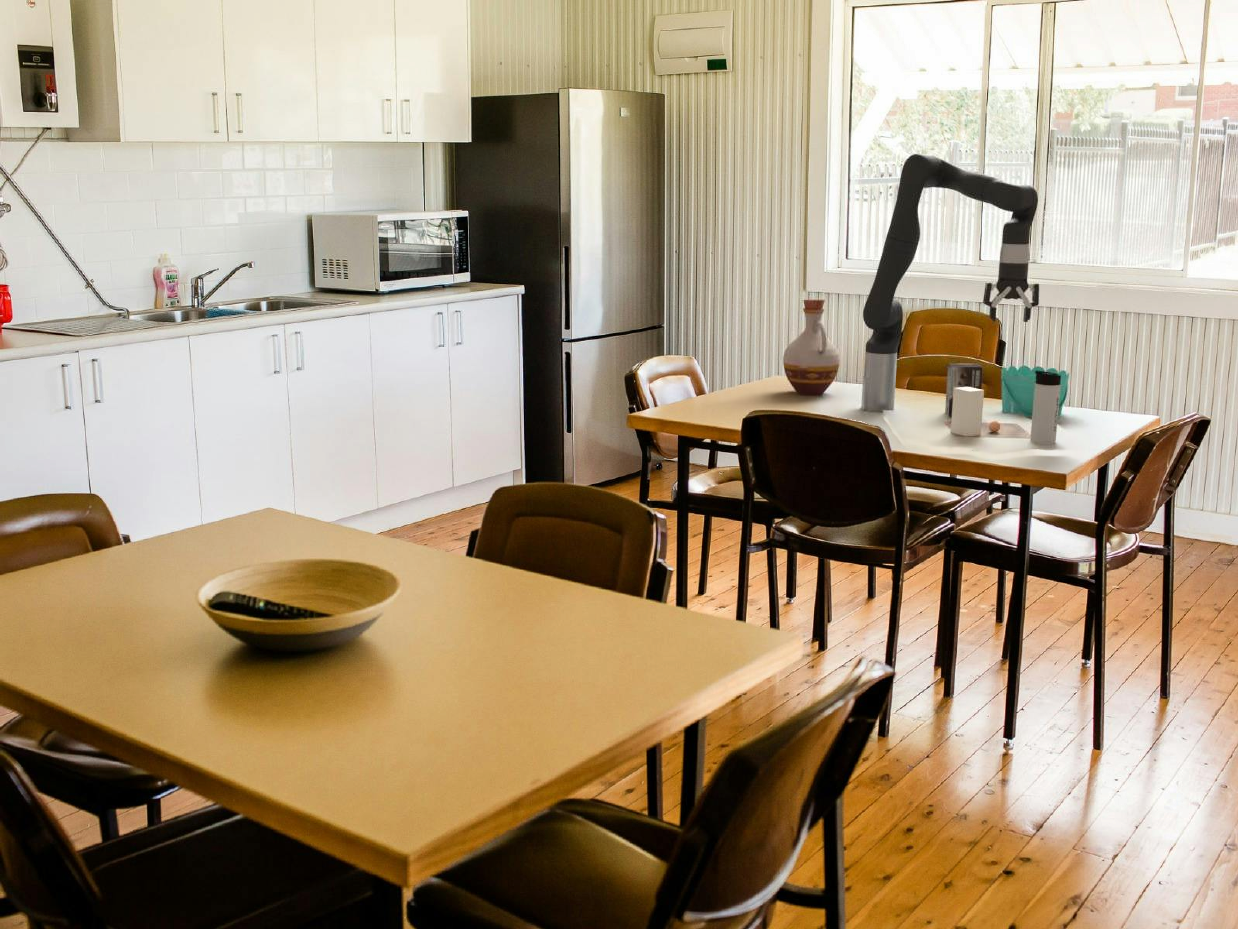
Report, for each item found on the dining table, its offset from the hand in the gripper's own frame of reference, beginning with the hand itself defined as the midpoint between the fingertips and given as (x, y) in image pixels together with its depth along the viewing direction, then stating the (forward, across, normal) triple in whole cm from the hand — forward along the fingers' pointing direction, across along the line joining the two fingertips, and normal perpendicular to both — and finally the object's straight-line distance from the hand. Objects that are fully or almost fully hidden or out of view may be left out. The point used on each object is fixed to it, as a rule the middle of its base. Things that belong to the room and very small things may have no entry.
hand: (1009, 321), depth 351 cm
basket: (+30, -15, -28) cm, 44 cm away
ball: (+29, +4, +10) cm, 31 cm away
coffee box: (+30, +8, -14) cm, 34 cm away
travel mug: (+30, -6, +21) cm, 37 cm away
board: (+30, +5, +7) cm, 31 cm away
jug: (+30, +48, -53) cm, 78 cm away
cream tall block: (+29, +12, +13) cm, 34 cm away
